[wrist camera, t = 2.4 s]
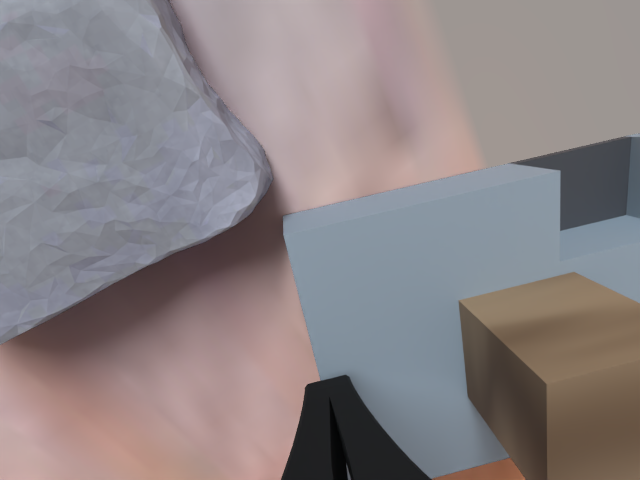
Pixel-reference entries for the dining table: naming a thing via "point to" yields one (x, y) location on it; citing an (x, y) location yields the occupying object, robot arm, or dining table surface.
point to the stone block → (107, 152)
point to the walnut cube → (557, 376)
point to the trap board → (454, 280)
